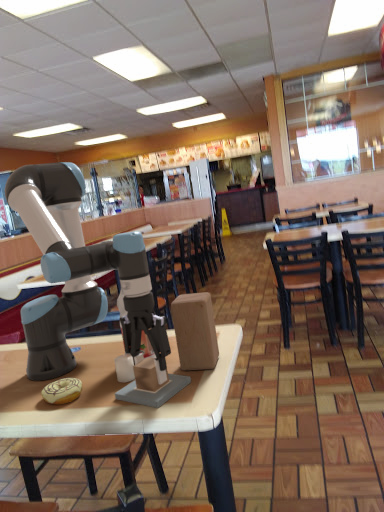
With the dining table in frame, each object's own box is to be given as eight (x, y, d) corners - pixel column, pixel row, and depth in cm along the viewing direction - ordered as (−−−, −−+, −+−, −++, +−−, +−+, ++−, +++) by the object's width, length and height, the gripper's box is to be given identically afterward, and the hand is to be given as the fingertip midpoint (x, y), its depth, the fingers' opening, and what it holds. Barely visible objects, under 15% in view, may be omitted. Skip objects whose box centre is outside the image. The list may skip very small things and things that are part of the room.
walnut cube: (136, 388, 108) (132, 366, 107) (151, 378, 112) (148, 357, 112) (154, 391, 104) (150, 369, 103) (169, 381, 109) (165, 359, 108)
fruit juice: (163, 358, 130) (148, 270, 126) (137, 369, 124) (121, 277, 120) (146, 353, 137) (132, 269, 133) (121, 363, 131) (105, 276, 127)
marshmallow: (113, 381, 119) (109, 360, 118) (127, 372, 123) (123, 353, 122) (128, 383, 115) (124, 362, 115) (141, 374, 120) (138, 355, 119)
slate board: (115, 399, 107) (114, 393, 107) (150, 375, 118) (149, 370, 118) (158, 407, 99) (156, 401, 99) (191, 382, 110) (190, 376, 110)
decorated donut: (49, 411, 106) (46, 397, 105) (39, 398, 115) (36, 385, 115) (89, 396, 111) (86, 383, 111) (76, 384, 120) (74, 372, 120)
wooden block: (215, 370, 116) (204, 299, 113) (180, 372, 118) (169, 303, 115) (220, 355, 125) (210, 290, 123) (187, 358, 127) (177, 294, 125)
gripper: (100, 297, 108) (115, 382, 111) (157, 297, 97) (173, 392, 100) (120, 289, 114) (134, 370, 117) (176, 289, 103) (190, 378, 106)
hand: (152, 380), depth 108 cm, fingers closed on walnut cube, 6 cm apart
